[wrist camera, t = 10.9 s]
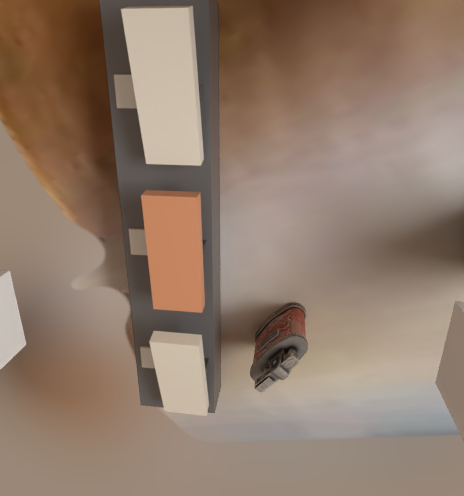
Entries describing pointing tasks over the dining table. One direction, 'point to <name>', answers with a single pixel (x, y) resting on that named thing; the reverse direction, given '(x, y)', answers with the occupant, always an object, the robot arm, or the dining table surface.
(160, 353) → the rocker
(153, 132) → the block
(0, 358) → the robot arm
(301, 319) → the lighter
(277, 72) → the dining table surface
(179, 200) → the rocker middle
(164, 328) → the rocker switch base
